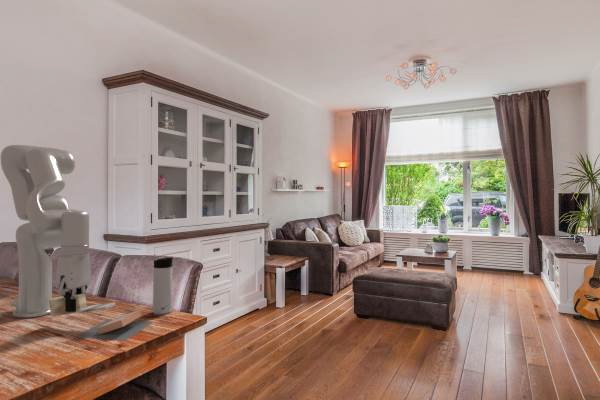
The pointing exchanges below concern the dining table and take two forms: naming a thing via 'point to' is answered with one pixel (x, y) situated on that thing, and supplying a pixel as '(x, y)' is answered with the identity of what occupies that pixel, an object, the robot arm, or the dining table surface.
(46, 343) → the dining table surface
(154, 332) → the dining table surface
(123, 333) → the grey square plate
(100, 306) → the beige rectangular bar
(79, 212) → the robot arm
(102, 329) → the tile
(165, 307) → the travel mug
